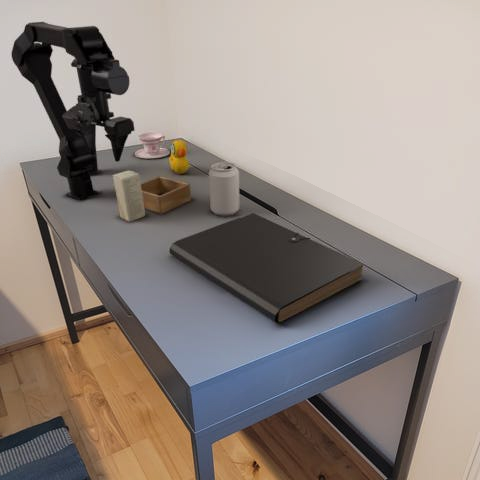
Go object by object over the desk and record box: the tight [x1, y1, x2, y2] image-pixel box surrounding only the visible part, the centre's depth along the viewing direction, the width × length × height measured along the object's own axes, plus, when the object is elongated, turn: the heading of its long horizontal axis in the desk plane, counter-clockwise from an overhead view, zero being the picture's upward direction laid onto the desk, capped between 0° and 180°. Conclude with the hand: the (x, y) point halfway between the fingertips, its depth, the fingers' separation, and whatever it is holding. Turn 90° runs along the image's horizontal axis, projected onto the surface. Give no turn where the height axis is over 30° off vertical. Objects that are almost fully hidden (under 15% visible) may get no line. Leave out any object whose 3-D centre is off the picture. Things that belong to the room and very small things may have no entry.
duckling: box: [169, 139, 190, 175], centre depth 147 cm, size 11×5×10 cm, turn 22°
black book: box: [169, 212, 365, 324], centre depth 99 cm, size 33×4×24 cm
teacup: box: [134, 132, 171, 159], centre depth 164 cm, size 12×12×6 cm
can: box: [208, 161, 240, 217], centre depth 121 cm, size 8×8×12 cm
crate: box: [140, 175, 192, 215], centre depth 129 cm, size 11×11×4 cm
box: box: [112, 169, 146, 222], centre depth 119 cm, size 5×4×11 cm
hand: (105, 157), depth 120 cm, fingers open, 9 cm apart
